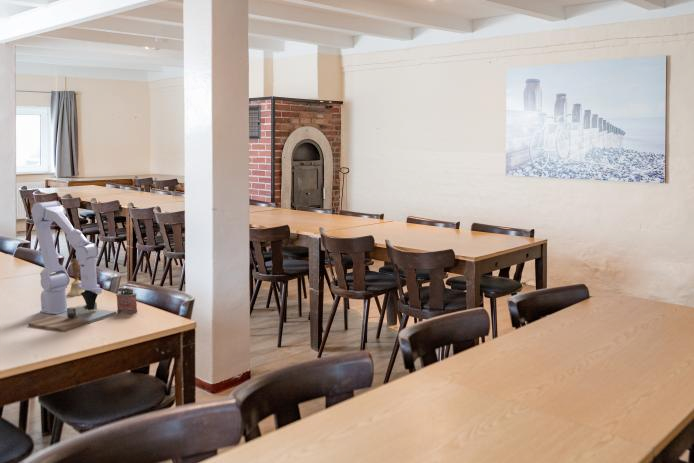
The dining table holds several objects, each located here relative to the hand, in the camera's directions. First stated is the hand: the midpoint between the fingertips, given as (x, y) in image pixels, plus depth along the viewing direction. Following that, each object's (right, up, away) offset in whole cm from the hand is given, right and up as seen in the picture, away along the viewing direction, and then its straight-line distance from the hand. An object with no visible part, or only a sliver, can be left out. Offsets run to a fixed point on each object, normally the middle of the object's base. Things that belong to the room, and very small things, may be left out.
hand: (91, 309), depth 267 cm
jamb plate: (-8, -4, -11) cm, 14 cm away
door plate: (-2, -3, +1) cm, 4 cm away
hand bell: (-20, +2, +38) cm, 43 cm away
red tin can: (+12, -2, +6) cm, 14 cm away
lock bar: (-3, -1, -1) cm, 3 cm away
